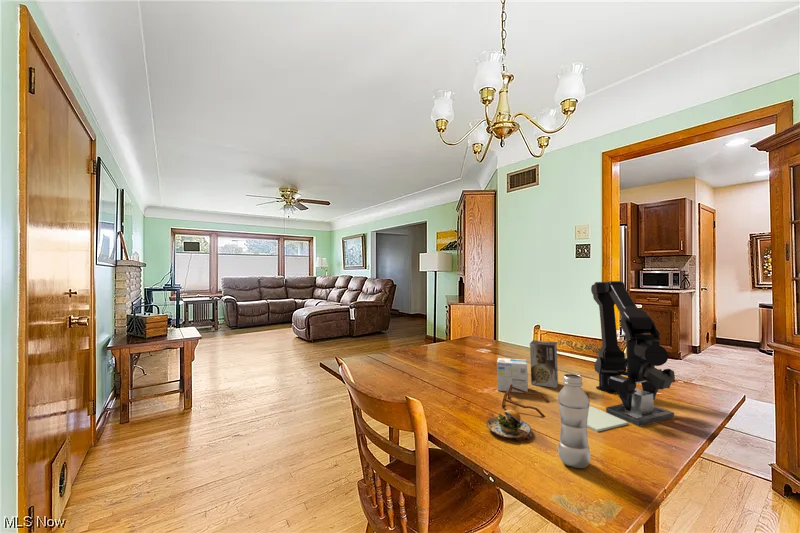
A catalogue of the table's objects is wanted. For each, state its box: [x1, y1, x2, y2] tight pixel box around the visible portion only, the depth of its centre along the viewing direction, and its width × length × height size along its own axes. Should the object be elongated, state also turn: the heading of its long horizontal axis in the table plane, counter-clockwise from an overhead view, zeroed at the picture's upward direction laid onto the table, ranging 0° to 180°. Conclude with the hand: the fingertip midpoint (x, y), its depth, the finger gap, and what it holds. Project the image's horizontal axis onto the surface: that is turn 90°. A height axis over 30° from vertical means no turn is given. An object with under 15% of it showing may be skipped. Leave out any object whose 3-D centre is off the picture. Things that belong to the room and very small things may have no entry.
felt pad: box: [587, 405, 629, 433], centre depth 98 cm, size 12×12×1 cm
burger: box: [486, 409, 533, 444], centre depth 91 cm, size 12×12×8 cm
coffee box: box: [529, 339, 559, 389], centre depth 128 cm, size 9×6×16 cm
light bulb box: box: [496, 357, 529, 394], centre depth 123 cm, size 11×7×11 cm, turn 71°
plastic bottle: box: [557, 373, 592, 469], centre depth 75 cm, size 6×7×20 cm
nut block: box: [624, 387, 655, 418], centre depth 100 cm, size 5×5×7 cm
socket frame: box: [605, 403, 675, 427], centre depth 100 cm, size 10×15×2 cm, turn 110°
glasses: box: [501, 384, 551, 418], centre depth 108 cm, size 13×13×5 cm
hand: (639, 408), depth 100 cm, fingers open, 9 cm apart
